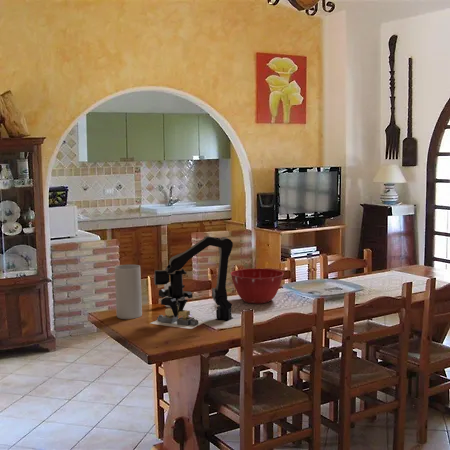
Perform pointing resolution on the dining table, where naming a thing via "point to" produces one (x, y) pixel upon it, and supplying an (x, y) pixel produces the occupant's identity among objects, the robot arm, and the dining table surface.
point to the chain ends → (178, 320)
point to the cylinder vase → (128, 291)
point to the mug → (166, 289)
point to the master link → (180, 313)
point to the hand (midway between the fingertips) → (177, 316)
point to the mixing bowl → (257, 284)
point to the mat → (176, 324)
